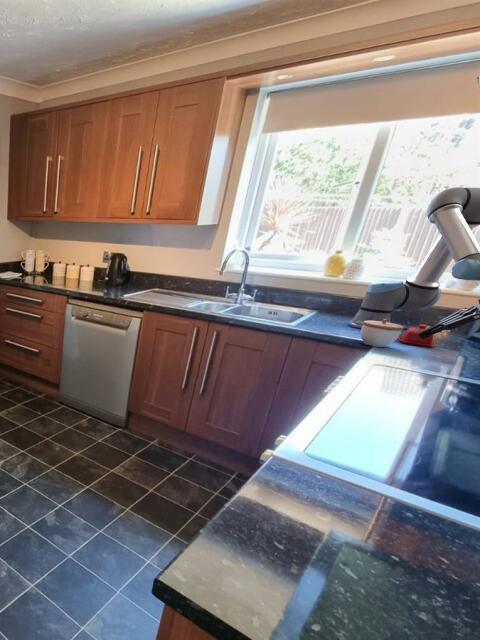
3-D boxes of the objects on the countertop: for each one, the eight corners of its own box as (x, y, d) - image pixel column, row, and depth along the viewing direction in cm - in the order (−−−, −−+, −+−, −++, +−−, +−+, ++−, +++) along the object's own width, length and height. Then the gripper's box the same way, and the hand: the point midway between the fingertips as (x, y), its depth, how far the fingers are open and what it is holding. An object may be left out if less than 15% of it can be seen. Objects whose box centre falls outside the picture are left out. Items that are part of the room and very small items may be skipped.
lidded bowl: (397, 350, 173) (409, 324, 169) (357, 345, 179) (368, 319, 175) (391, 344, 182) (402, 319, 178) (353, 339, 189) (363, 314, 185)
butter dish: (434, 349, 178) (444, 329, 175) (397, 343, 185) (405, 324, 182) (432, 344, 186) (441, 325, 182) (396, 338, 193) (404, 320, 190)
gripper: (514, 312, 154) (431, 347, 167) (496, 306, 164) (419, 340, 178) (501, 295, 154) (419, 332, 168) (484, 290, 164) (408, 325, 178)
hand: (419, 336), depth 173 cm, fingers closed
